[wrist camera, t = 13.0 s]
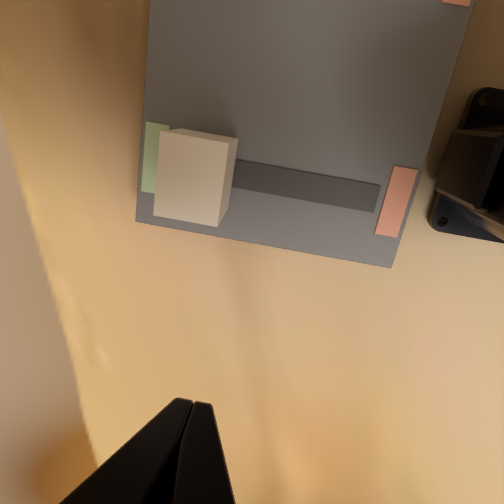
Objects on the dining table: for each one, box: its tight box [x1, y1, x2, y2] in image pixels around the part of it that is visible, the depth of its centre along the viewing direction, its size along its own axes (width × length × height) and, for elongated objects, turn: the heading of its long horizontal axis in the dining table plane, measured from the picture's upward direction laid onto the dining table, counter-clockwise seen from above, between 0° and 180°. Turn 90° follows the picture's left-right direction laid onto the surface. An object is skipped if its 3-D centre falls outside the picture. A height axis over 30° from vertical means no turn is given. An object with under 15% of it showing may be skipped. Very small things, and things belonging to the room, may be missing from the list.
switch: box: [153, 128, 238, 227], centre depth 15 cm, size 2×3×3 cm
